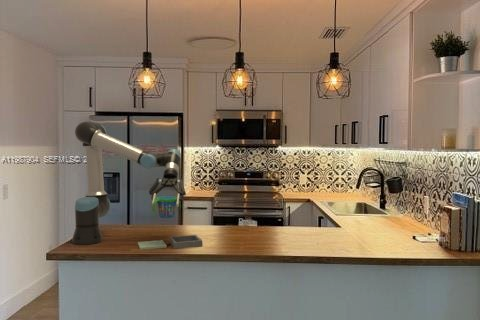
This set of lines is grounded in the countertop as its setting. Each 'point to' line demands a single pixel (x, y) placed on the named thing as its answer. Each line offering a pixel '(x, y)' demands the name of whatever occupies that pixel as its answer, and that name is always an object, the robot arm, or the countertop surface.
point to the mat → (151, 244)
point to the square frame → (185, 241)
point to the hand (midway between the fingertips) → (165, 205)
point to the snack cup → (166, 206)
